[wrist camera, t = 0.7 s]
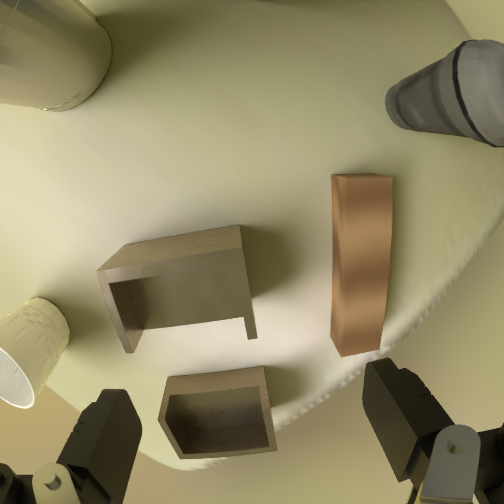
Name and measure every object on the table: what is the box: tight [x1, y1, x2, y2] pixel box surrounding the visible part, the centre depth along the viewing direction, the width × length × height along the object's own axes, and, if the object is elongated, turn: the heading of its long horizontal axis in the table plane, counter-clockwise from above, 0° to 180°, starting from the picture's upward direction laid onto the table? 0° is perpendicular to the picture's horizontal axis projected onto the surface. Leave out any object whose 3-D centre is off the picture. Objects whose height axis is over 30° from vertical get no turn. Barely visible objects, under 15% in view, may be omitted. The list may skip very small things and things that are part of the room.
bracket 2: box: [158, 366, 277, 459], centre depth 28 cm, size 7×10×6 cm
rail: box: [330, 174, 393, 357], centre depth 26 cm, size 16×4×4 cm, turn 4°
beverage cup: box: [385, 40, 504, 147], centre depth 14 cm, size 7×7×20 cm
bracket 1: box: [96, 225, 257, 353], centre depth 24 cm, size 7×10×6 cm
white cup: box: [0, 297, 70, 408], centre depth 23 cm, size 8×8×10 cm
